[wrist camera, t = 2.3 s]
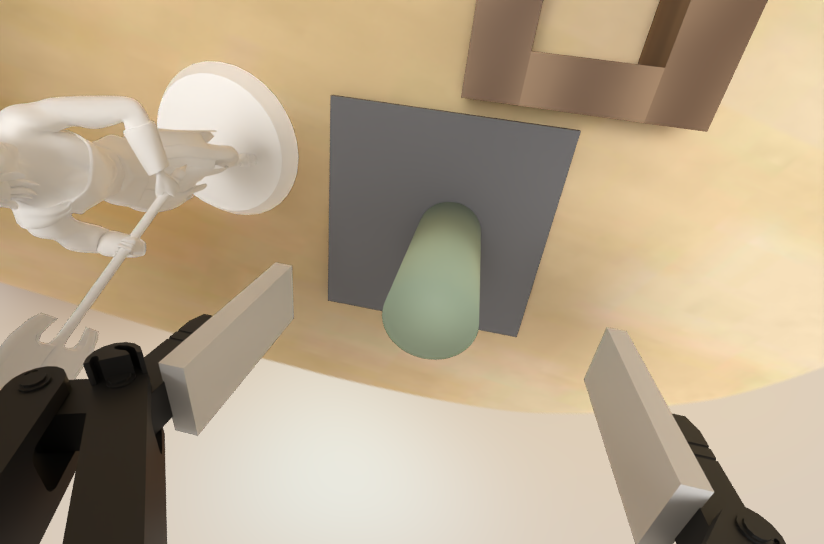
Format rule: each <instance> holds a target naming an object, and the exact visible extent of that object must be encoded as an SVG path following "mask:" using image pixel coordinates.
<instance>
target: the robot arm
mask: <svg viewBox="0 0 824 544" xmlns="http://www.w3.org/2000/svg"><path fill="white" fill-rule="evenodd" d="M293 319H294V306H293V276H292V265H286V264H281V263H276V262H275V263H274V264H273V265H272V266H271V267H269V268H268V269H267V270H266V271H265V272H264V273H262V274H261V275H260V276H259V277H258V278H257V279H255V280H254V281H253V282H252V283H251V284H250V285H248V286H247V287H246V288H245V289H244V290H243V291H241V292H240V293H239V294H238V295H237V296H236V297H234V298H233V299H232V300H231V301H230V302H229V303H227V304H226V305H225V306H224V307H223V308H222V309H220V310H219V311H218V312H217V313H216V314H215V315H213V316H211V315H206V314H204V315H201V316H199V317H197V318H195V319H192V320H190V321H189V322H187V323H186V324H185V325H184V326H183V327H181V328H180V329H179V331H178V332H177V331H176V332H175V333H174V334H173V335H172V336H170V338H169V339H166V340H165V341H164V342H163V343H161V344H160V345H159V346H158V347H157V348H156V349H154V350H153V351H152V352H150V353H149V354H148V355H147V356H145V357H143V353H142V350H141V348H140V346H138V345H136V344H134V343H128V342H124V343H114V344H111V345H108V346H104V347H102V348H100V349H98V350H96V351H94V352H93V353H91V354H90V355H89V356H88V357H86V359H85V361H84V363H83V365H84V368H85V370H86V373H87V376H88V378H89V379H78V380H77V379H75V380H68V377H67V375H66V373H65V371H64V369H62V368H60V367H57V366H45V367H40V368H35V369H32V370H29V371H26V372H24V373H22V374H20V375H18V376H16V377H14V378H12V379H11V380H10V381H9V382H8V383H7V384H6V385H4V387H3V388H2V389H1V390H0V544H39V543H40V541H41V539H42V537H43V535H44V533H45V531H46V529H47V527H48V525H49V523H50V521H51V519H52V517H53V515H54V513H55V511H56V509H57V507H58V505H59V503H60V501H61V499H62V497H63V495H64V493H65V491H66V489H67V487H68V485H69V483H70V481H71V479H72V477H73V475H74V473H75V471H76V473H75V479H74V484H73V490H72V496H71V501H70V506H69V511H68V517H67V523H66V528H65V533H64V539H63V544H167V524H166V523H167V521H166V480H165V479H166V477H165V434H164V430H163V426H164V425H165V424H166V423H167V422H168V421H169V420H170V419H171V418H172V419H173V423H174V427H175V430H177V431H181V432H185V433H189V434H193V435H197V436H198V435H199V434H200V432H201V431H202V430H203V429H204V428H205V426H206V425H207V424H208V423H209V421H210V420H211V419H212V418H213V417H214V415H215V414H216V413H217V412H218V410H219V409H220V408H221V406H222V405H223V404H224V403H225V402H226V401H227V399H228V398H229V397H230V396H231V394H232V393H233V392H234V391H235V390H236V388H237V387H238V386H239V385H240V384H241V382H242V381H243V380H244V378H245V377H246V376H247V375H248V374H249V372H250V371H251V370H252V369H253V368H254V366H255V365H256V364H257V363H258V361H259V360H260V359H261V358H262V357H263V355H264V354H265V353H266V352H267V350H268V349H269V348H270V347H271V346H272V344H273V343H274V342H275V341H276V339H277V338H278V337H279V336H280V335H281V333H282V332H283V331H284V330H285V328H286V327H287V326H288V325H289V324H290V322H291V321H292V320H293ZM584 381H585V385H586V388H587V391H588V394H589V397H590V401H591V404H592V407H593V410H594V413H595V417H596V420H597V423H598V426H599V429H600V432H601V436H602V439H603V442H604V445H605V448H606V452H607V455H608V458H609V461H610V464H611V468H612V471H613V474H614V477H615V480H616V484H617V487H618V490H619V493H620V496H621V499H622V503H623V506H624V509H625V512H626V516H627V519H628V522H629V525H630V528H631V531H632V535H633V538H634V541H635V544H673V543H674V542H676V544H786V543H785V541H784V539H783V537H782V536H781V535H780V534H779V533H778V531H777V530H776V529H775V528H774V527H773V526H772V525H771V524H770V523H769V522H768V521H767V520H765V519H764V518H763V517H761V516H760V515H759V514H757V513H755V512H754V511H752V510H750V509H748V508H746V507H745V506H744V504H743V503H742V501H741V499H740V498H739V496H738V494H737V493H736V491H735V489H734V488H733V486H732V484H731V483H730V481H729V479H728V477H727V476H726V474H725V473H724V471H723V469H722V467H721V466H720V464H719V463H718V461H716V457H715V456H714V454H713V452H712V451H711V449H709V448H708V447H709V446H708V444H707V442H706V441H705V439H704V437H703V436H702V434H701V432H700V431H699V430H698V429H697V428H696V427H695V426H694V425H693V424H692V423H691V422H690V421H689V420H688V419H687V418H686V417H685V416H680V415H676V414H672V413H671V412H670V409H669V408H668V406H667V404H666V402H665V400H664V398H663V397H662V395H661V393H660V391H659V389H658V387H657V386H656V384H655V382H654V380H653V378H652V376H651V374H650V373H649V371H648V369H647V367H646V365H645V363H644V362H643V360H642V358H641V356H640V354H639V352H638V351H637V349H636V347H635V345H634V343H633V341H632V340H631V338H630V336H629V334H628V332H627V331H624V330H619V329H614V328H609V327H607V328H606V330H605V332H604V335H603V337H602V339H601V341H600V344H599V346H598V348H597V351H596V353H595V355H594V357H593V360H592V362H591V364H590V366H589V369H588V371H587V373H586V376H585V378H584Z"/></svg>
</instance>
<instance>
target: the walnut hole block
mask: <svg viewBox="0 0 824 544" xmlns="http://www.w3.org/2000/svg"><path fill="white" fill-rule="evenodd" d="M767 1H768V0H660V2H659V5H658V8H657V11H656V14H655V17H654V20H653V22H652V25H651V28H650V31H649V34H648V37H647V39H646V42H645V45H644V48H643V51H642V54H641V57H640V59H639V62H638V64H630V63H622V62H614V61H606V60H599V59H591V58H583V57H575V56H567V55H559V54H551V53H543V52H535V51H532V46H533V42H534V38H535V33H536V29H537V25H538V20H539V16H540V11H541V7H542V3H543V0H477V2H476V8H475V15H474V21H473V27H472V33H471V39H470V45H469V52H468V58H467V64H466V70H465V76H464V82H463V89H462V95H461V98H468V99H475V100H483V101H490V102H497V103H504V104H511V105H519V106H526V107H533V108H540V109H547V110H554V111H562V112H569V113H576V114H583V115H590V116H598V117H605V118H612V119H619V120H626V121H633V122H641V123H648V124H655V125H662V126H669V127H677V128H684V129H691V130H698V131H705V132H707V131H708V129H709V126H710V124H711V122H712V120H713V118H714V116H715V113H716V111H717V109H718V107H719V105H720V103H721V100H722V98H723V96H724V94H725V92H726V90H727V87H728V85H729V83H730V81H731V79H732V77H733V74H734V72H735V70H736V68H737V66H738V64H739V61H740V59H741V57H742V55H743V53H744V51H745V48H746V46H747V44H748V42H749V40H750V38H751V35H752V33H753V31H754V29H755V27H756V25H757V22H758V20H759V18H760V16H761V14H762V12H763V9H764V7H765V5H766V3H767Z"/></svg>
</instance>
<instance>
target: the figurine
mask: <svg viewBox="0 0 824 544" xmlns="http://www.w3.org/2000/svg"><path fill="white" fill-rule="evenodd" d="M121 122H124V126H125V130H124V131H123V133H124V136H125V137H120V136H117V135H107V136H105V137H103V138H101V139H99V140H97V141H93V142H90V141H89V140H87V139H85V138H83V137H81V136H79V135H78V134H76V133H74V132H71V131H69V130H63V129H66V128H69V127H73V126H80V127H84V128H89V129H100V128H105V127H108V126H112V125H115V124H118V123H121ZM298 158H299V156H298V146H297V140H296V136H295V133H294V129H293V126H292V124H291V122H290V119H289V117H288V115H287V113H286V111H285V109H284V108H283V106H282V105H281V103H280V102H279V100H278V99H277V97H276V96H275V95H274V94H273V93H272V92H271V91H270V90H269V89H268V87H267V86H266V85H265V84H264V83H262V82H261V81H260V80H259V79H257V78H256V77H255V76H253V75H252V74H251V73H249V72H247V71H245V70H243V69H241V68H239V67H237V66H235V65H231V64H227V63H224V62H217V61H204V62H200V63H195V64H192V65H190V66H188V67H186V68H184V69H182V70H181V71H180V72H179V73H178V74H177V75H176V76H175V77H174V78H173V79H172V80H171V81H170V83H169V85H168V86H167V88H166V90H165V92H164V95H163V97H162V100H161V103H160V107H159V110H158V119H157V126H156V124H155V122H154V121H151V120H150V118H149V116H148V114H147V113H146V111H145V109H144V108H143V106H142V105H141V104H140V103H139V102H138V101H137V100H135V99H133V98H130V97H126V96H66V97H52V98H47V99H43V100H40V101H36V102H31V103H23V104H15V105H11V106H8V107H6V108H4V109H3V110H1V111H0V207H5V208H10V209H12V211H13V214H14V216H15V219H16V222H17V224H19V225H20V227H22V228H24V229H27V230H28V231H29V233H31V234H32V235H33V236H35V237H39V238H43V239H52V240H55V241H57V242H58V243H60V244H61V245H62V246H63V247H64V248H66V249H68V250H71V251H76V252H84V253H100V254H101V255H104V256H110V257H113V259H112V260H111V261H110V263H109V264H108V266H107V267H106V268H105V270H104V271H103V272H102V274H101V275H100V277H99V278H98V279H97V281H96V282H95V283H94V285H93V286H92V288H91V289H90V290H89V292H88V293H87V294H86V296H85V297H84V299H83V300H82V301H81V303H80V304H79V305H78V307H77V308H76V310H75V311H74V312H73V314H72V315H71V317H70V318H69V319H68V321H67V322H66V323H65V325H64V326H63V328H62V329H61V330H60V332H59V333H58V334H57V336H56V337H55V338H54V339H53V340H52V341H51V342H50V343H43V342H40V341H39V339H40V336H41V334H42V333H43V332H44V331H45V330H46V329H47V328H48V327H49V326H50V325H51V324H52V323H53V322H54V321H56V320H57V318H55V317H52V316H49V315H46V314H43V313H40V314H38V315H36V316H34V317H32V318H30V319H28V320H27V321H26V322H24V323H23V324H22V325H21V326H20V327H18V328H17V329H16V330H15V331H14V332H13V333H11V334H10V335H9V336H8V337H7V339H6V340H5V341H4V343H3V344H2V345H1V346H0V390H1V389H2V388H3V387H4V385H6V384H7V383H8V382H9V381H10V380H11V379H12V378H14V377H16V376H18V375H20V374H22V373H24V372H26V371H29V370H32V369H35V368H40V367H45V366H57V367H60V368H62V369H64V371H65V373H66V375H67V377H68V380H75V379H76V377H77V376H78V374H79V373H80V371H81V370H82V368H83V367H84V365H83V363H84V361H85V359H86V357H88V356H89V355H90V354H91V353H93V350H94V348H95V345H96V343H97V340H98V331H96V330H93V329H90V328H87V327H86V328H85V330H84V333H83V335H82V337H81V339H80V341H79V343H78V344H77V345H76V346H74V347H73V348H65V347H64V346H65V344H66V342H67V340H68V338H69V337H70V335H71V334H72V333H73V331H74V330H75V328H76V327H77V326H78V324H79V323H80V321H81V320H82V319H83V317H84V316H85V314H86V313H87V311H88V310H89V309H90V307H91V306H92V304H93V303H94V302H95V300H96V299H97V297H98V296H99V295H100V293H101V292H102V290H103V289H104V288H105V286H106V285H107V283H108V282H109V281H110V279H111V278H112V276H113V275H114V274H115V272H116V271H117V269H118V268H119V267H120V265H121V264H122V262H123V261H124V259H125V258H126V257H140V256H143V255H145V253H146V243H145V242H144V241H143V240H142V239H140V237H141V236H142V234H143V233H144V231H145V230H146V229H147V227H148V226H149V224H150V223H151V222H152V220H153V219H154V217H155V216H156V215H157V213H158V212H162V211H168V210H171V209H174V208H176V207H178V206H180V205H181V204H183V203H184V202H186V201H187V200H189V199H191V198H192V197H194V196H192V194H194V195H195V196H197V197H198V198H199V199H201V200H202V201H204V202H206V203H208V204H210V205H212V206H214V207H216V208H219V209H221V210H223V211H227V212H230V213H234V214H241V215H253V214H260V213H263V212H266V211H269V210H271V209H272V208H274V207H275V206H277V205H278V204H280V203H281V202H282V201H283V200H284V198H285V197H286V196H287V195H288V194H289V192H290V190H291V188H292V186H293V185H294V181H295V178H296V175H297V171H298ZM103 200H104V201H106V202H108V203H111V204H115V205H120V206H128V207H130V208H132V209H134V210H137V211H141V212H146V213H145V215H144V216H143V217H142V219H141V220H140V221H139V223H138V224H137V226H136V227H135V228H134V230H133V231H132V232H131V234H130V235H129V234H125V233H122V232H118V231H110V230H108V229H106V228H104V227H102V226H98V225H94V224H90V223H86V222H82V221H79V220H76V219H74V218H73V217H72V215H71V214H72V213H76V214H83V213H84V212H85V211H87V210H88V209H90V208H91V207H93V206H95V205H97V204H98V203H100V202H101V201H103Z"/></svg>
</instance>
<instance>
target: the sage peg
mask: <svg viewBox="0 0 824 544" xmlns="http://www.w3.org/2000/svg"><path fill="white" fill-rule="evenodd" d="M480 257H481V226H480V223H479V220H478V218H477V216H476V215H475V214H474V212H473V211H472V210H470V209H469V208H468V207H466V206H464V205H462V204H460V203H456V202H442V203H439V204H436V205H434V206H432V207H431V208H429V209H428V210H427V211H426V212H425V213H424V215H423V216H422V218H421V220H420V222H419V224H418V227H417V229H416V231H415V234H414V236H413V238H412V241H411V243H410V245H409V247H408V250H407V252H406V254H405V257H404V259H403V261H402V264H401V266H400V268H399V270H398V273H397V275H396V277H395V280H394V282H393V284H392V287H391V289H390V291H389V293H388V296H387V298H386V300H385V303H384V306H383V311H382V319H383V324H384V328H385V330H386V332H387V334H388V336H389V337H390V338H391V340H392V341H393V342H394V343H395V344H396V345H397V346H398V347H400V348H401V349H402V350H404V351H405V352H407V353H409V354H411V355H414V356H417V357H420V358H424V359H434V360H437V359H446V358H450V357H453V356H456V355H458V354H460V353H461V352H463V351H464V350H466V349H467V348H468V347H469V346H470V345H471V344H472V342H473V341H474V339H475V338H476V336H477V333H478V329H479V304H480Z"/></svg>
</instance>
